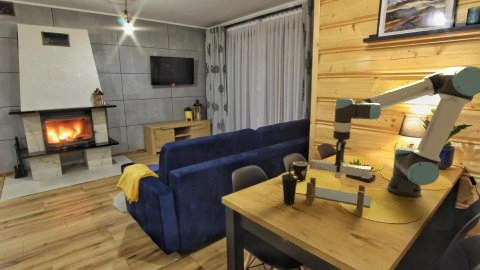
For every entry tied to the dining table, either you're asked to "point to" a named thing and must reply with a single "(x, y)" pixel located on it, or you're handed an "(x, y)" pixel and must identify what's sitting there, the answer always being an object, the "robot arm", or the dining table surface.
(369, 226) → the dining table surface
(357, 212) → the walnut cradles
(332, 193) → the grey flat panel
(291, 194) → the drinking cup
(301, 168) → the coffee mug
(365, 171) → the alu bar
